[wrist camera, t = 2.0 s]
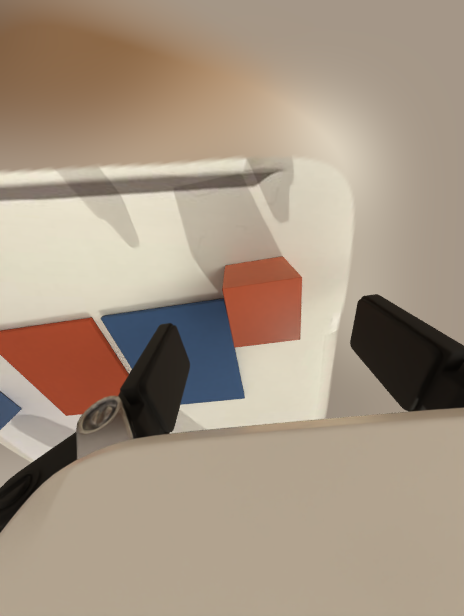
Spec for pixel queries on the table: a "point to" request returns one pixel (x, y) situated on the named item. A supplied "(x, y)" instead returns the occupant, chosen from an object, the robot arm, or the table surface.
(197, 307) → the blue mat
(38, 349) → the terracotta mat
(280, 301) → the terracotta block
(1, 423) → the blue block
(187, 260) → the table surface
